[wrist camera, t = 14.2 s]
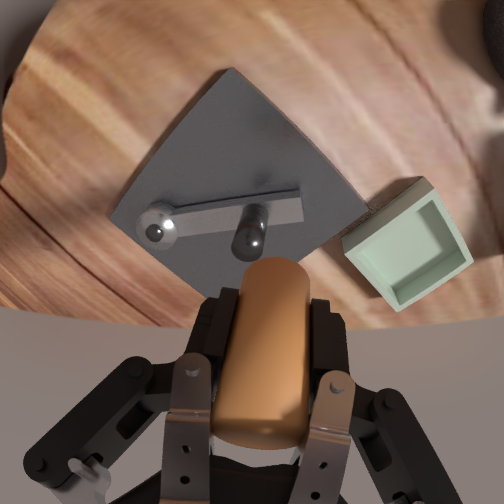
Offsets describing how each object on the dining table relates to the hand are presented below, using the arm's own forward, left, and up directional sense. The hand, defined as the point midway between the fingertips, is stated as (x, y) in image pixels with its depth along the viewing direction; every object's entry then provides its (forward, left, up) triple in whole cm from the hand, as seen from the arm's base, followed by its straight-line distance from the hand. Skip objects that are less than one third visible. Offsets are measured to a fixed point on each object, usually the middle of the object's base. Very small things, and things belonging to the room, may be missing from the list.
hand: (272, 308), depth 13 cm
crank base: (-1, -7, -18) cm, 20 cm away
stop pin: (0, 0, -2) cm, 2 cm away
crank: (-2, -8, -17) cm, 18 cm away
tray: (+15, +4, -18) cm, 24 cm away
